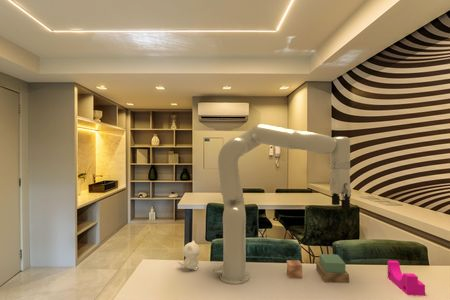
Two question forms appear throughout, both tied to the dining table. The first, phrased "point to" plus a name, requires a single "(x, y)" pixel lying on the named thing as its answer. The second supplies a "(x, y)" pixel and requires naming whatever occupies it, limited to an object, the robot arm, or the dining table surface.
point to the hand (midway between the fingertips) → (340, 207)
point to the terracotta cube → (294, 268)
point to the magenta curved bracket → (405, 280)
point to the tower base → (332, 275)
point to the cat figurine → (190, 255)
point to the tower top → (331, 263)
